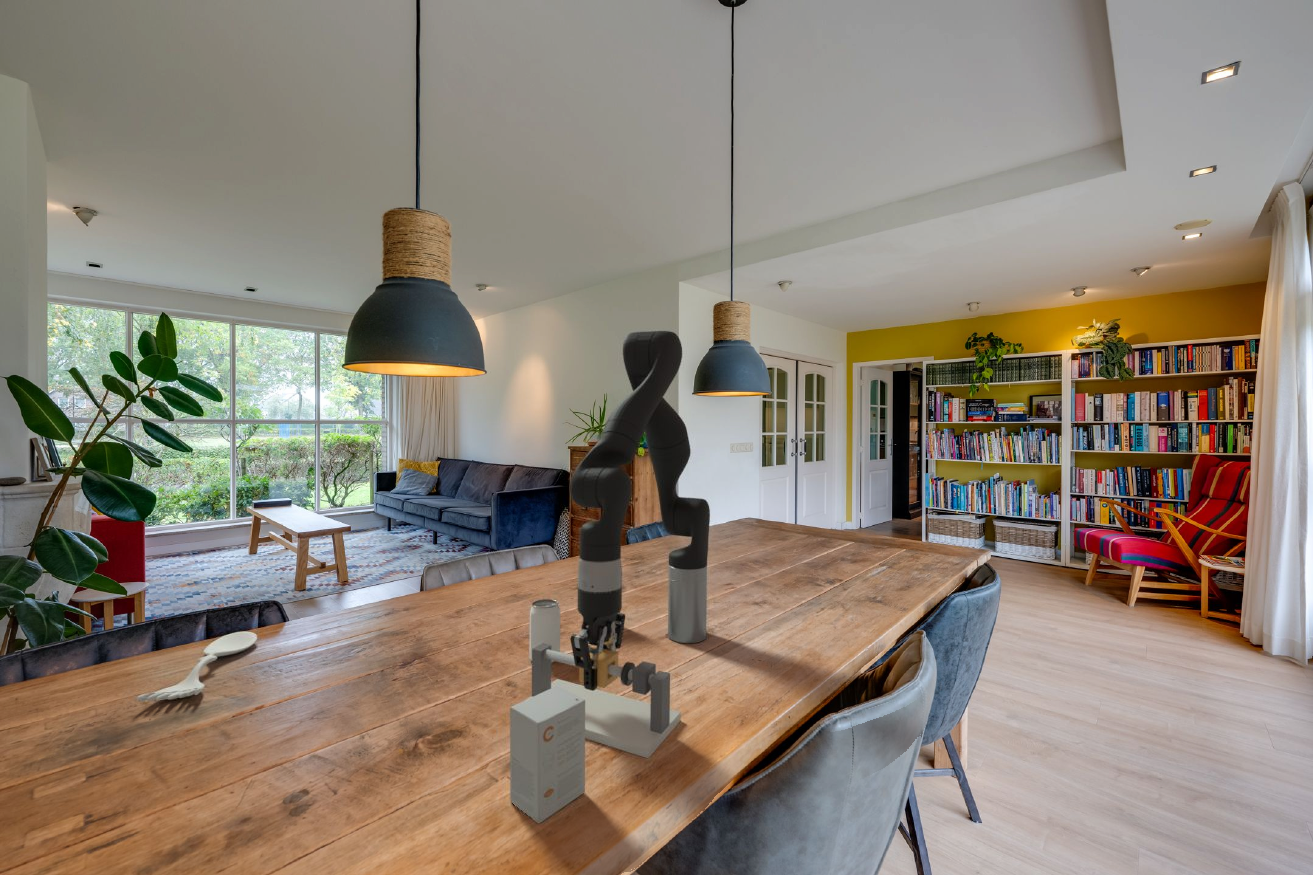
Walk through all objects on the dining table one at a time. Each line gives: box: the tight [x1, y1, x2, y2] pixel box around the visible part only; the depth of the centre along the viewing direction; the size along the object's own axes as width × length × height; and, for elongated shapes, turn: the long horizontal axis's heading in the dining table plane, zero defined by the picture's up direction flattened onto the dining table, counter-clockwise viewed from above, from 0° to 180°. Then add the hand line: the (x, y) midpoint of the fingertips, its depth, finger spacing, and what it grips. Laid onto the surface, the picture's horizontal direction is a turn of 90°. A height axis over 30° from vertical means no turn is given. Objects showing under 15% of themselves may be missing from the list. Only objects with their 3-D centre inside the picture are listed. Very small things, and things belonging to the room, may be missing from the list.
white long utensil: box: [136, 631, 258, 703], centre depth 110 cm, size 9×32×4 cm, turn 18°
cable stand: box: [525, 643, 682, 759], centre depth 94 cm, size 12×26×11 cm, turn 63°
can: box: [529, 598, 561, 664], centre depth 117 cm, size 6×6×12 cm
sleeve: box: [578, 646, 619, 689], centre depth 93 cm, size 4×5×4 cm
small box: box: [509, 686, 586, 825], centre depth 73 cm, size 8×6×13 cm
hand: (598, 682), depth 94 cm, fingers closed on sleeve, 4 cm apart
